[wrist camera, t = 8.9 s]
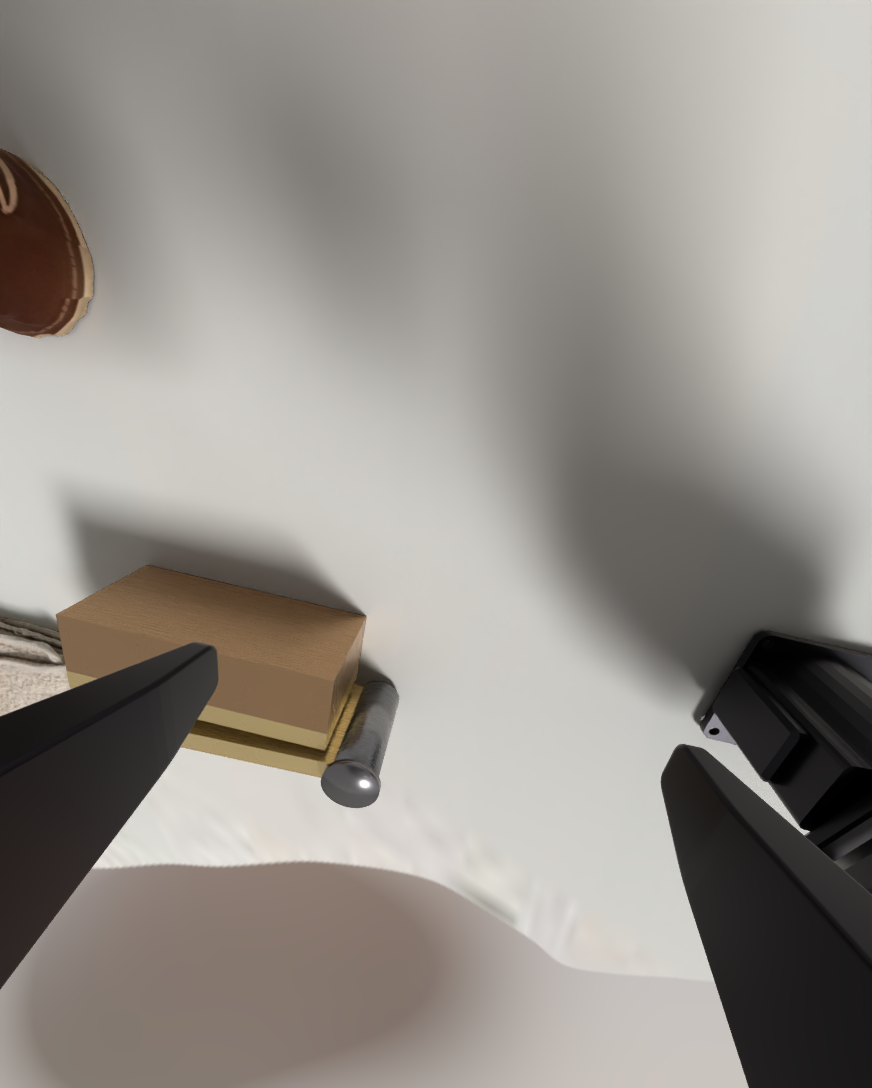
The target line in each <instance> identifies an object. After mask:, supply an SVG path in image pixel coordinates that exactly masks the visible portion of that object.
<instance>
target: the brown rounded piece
mask: <svg viewBox="0 0 872 1088" xmlns="http://www.w3.org/2000/svg"><path fill="white" fill-rule="evenodd" d="M93 282H94V270H93V264H92V259H91V255H90V252H89V250H88V248H87V245H86V243H85V240H84V238H83V235H82V232H81V230H80V228H79V226H78V224H77V222H76V220H75V218H74V216H73V214H72V212H71V210H70V208H69V206H68V205H67V203H66V202H65V200H64V199H63V197H62V195H61V194H60V193H59V192H58V190H57V188H56V187H55V186H54V185H53V184H52V183H51V182H50V181H49V180H48V179H47V178H45V177H43V176H42V175H41V174H40V173H39V172H38V171H36V170H35V169H34V168H33V167H31V166H30V165H29V164H28V163H27V162H26V161H24V160H22V159H21V158H19V157H17V156H15V155H13V154H11V153H9V152H7V151H5V150H3V149H0V327H1V328H4V329H7V330H9V331H12V332H15V333H18V334H21V335H27V336H31V337H35V338H41V337H43V336H52V335H53V336H63V335H66V334H69V332H70V331H71V330H72V329H73V327H74V326H75V324H76V322H77V321H78V320H79V319H80V318H81V317H84V315H85V314H86V313H87V306H88V302H90V300H91V298H92V297H93Z"/></svg>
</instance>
